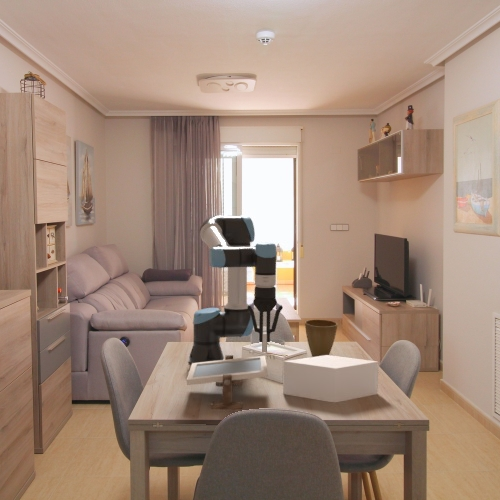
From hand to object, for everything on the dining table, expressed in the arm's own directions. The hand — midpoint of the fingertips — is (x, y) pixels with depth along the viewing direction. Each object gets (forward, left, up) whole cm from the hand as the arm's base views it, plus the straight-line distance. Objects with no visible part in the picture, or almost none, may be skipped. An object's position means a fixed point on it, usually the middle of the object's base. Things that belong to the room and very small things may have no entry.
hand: (264, 350), depth 190 cm
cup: (-13, +39, -17) cm, 44 cm away
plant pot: (+2, +59, -17) cm, 61 cm away
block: (+21, +13, -17) cm, 30 cm away
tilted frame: (-12, -6, -7) cm, 15 cm away
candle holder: (-26, +51, -17) cm, 60 cm away
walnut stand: (-12, -6, -16) cm, 21 cm away
